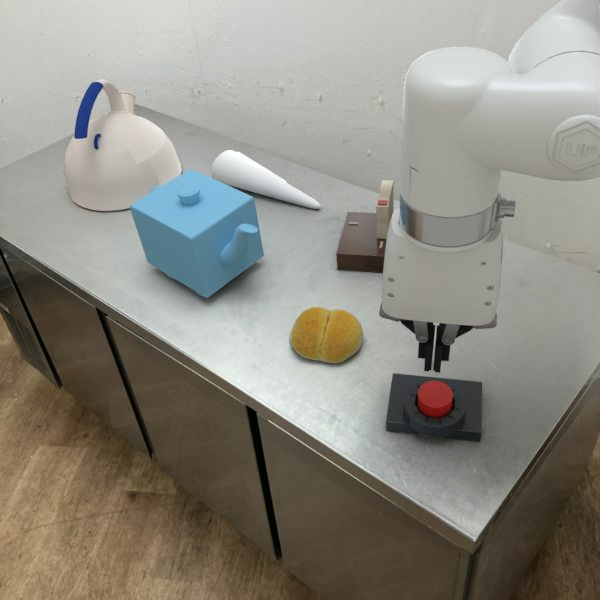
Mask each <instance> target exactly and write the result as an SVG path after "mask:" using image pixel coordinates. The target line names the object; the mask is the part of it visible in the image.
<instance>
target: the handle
mask: <svg viewBox="0 0 600 600" xmlns="http://www.w3.org/2000/svg"><path fill="white" fill-rule="evenodd" d="M375 207H376V208H375V213H376V223H377V238H378V239H387V234H388V229H389V224H390V221H391V217H392V214H393V212H394V180H388V179H387V180H385V179H382V180H381V184H380V188H379V191H378V197H377V200H376V205H375Z"/></svg>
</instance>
